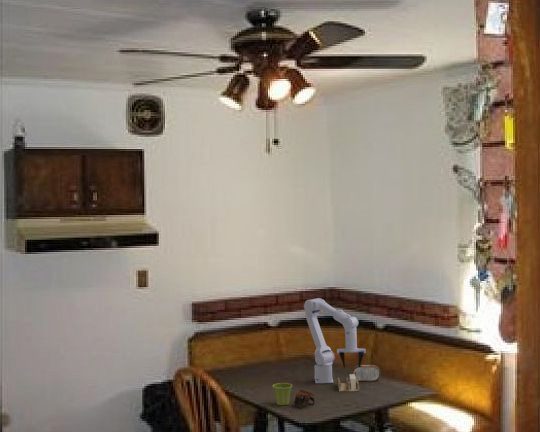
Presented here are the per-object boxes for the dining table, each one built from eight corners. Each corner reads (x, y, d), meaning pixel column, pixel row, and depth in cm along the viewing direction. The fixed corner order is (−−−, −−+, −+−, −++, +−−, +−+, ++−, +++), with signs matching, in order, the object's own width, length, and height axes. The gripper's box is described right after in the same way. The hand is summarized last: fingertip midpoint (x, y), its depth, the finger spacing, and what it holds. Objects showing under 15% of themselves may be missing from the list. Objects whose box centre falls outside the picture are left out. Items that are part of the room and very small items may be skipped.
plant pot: (279, 399, 314) (278, 381, 314) (296, 402, 309) (295, 384, 309) (269, 405, 306) (268, 386, 305) (286, 407, 301) (286, 389, 301)
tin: (380, 380, 344) (380, 364, 344) (381, 381, 341) (380, 365, 341) (352, 380, 346) (351, 364, 346) (352, 381, 343) (351, 365, 343)
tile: (351, 388, 326) (350, 378, 326) (349, 383, 335) (349, 374, 335) (356, 388, 326) (355, 378, 326) (354, 383, 335) (354, 374, 335)
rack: (339, 391, 325) (339, 383, 325) (337, 384, 337) (337, 377, 337) (359, 390, 325) (359, 383, 325) (357, 384, 337) (356, 377, 337)
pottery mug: (289, 405, 307) (296, 388, 309) (307, 412, 308) (313, 395, 310) (296, 405, 295) (302, 388, 298) (315, 413, 296) (321, 396, 299)
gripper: (337, 342, 328) (337, 369, 328) (366, 341, 327) (366, 368, 328) (336, 339, 335) (337, 365, 335) (364, 339, 334) (365, 365, 335)
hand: (351, 367), depth 332 cm, fingers open, 7 cm apart
